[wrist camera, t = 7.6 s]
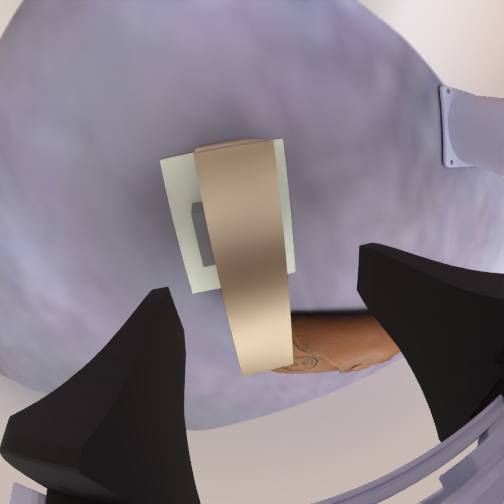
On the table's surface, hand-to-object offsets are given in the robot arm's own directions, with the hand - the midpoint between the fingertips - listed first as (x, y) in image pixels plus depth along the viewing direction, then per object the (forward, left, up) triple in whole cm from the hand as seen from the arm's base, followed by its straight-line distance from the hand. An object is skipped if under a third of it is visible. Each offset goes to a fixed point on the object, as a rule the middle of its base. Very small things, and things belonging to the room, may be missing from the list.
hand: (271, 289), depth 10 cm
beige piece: (0, +1, -7) cm, 7 cm away
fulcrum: (0, +1, -10) cm, 10 cm away
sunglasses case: (-10, +16, -11) cm, 22 cm away
